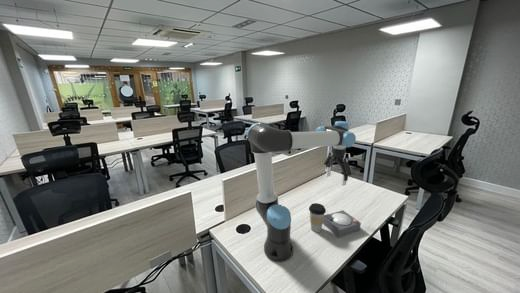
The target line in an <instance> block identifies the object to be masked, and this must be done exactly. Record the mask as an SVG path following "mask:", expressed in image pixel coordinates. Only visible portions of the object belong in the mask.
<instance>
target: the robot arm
mask: <svg viewBox="0 0 520 293" xmlns="http://www.w3.org/2000/svg"><path fill="white" fill-rule="evenodd" d="M349 124H350V123H349V122H348V121H345V120H344V121H342V120H339V121H338V120H337V121H335V122H334V124H333V125H327V126H325V125H324V126H318V127H317V128H316V129H315V131H313V130H312V131H291V130H290V129H285V130H284V129H278V128H275V127H272V126H270V125H268V124H266V123H263V122H256V123H252V125H250V127H249V128H248V130H247V132H246V134H247V135H246V137H247V140H248V142H249V143H250V152H251V153H252V154H254V160H255V168H256V177H257V178H256V179H257V187H258V189H257V190H258V194H257V195H256V200H255V204H254V206H255V209H256V211H257V213H258V214H259V215H260V218H261V219H262V221H263V222H264V224H265V225H266V228H267V236H266V239H265V241H264V245H263V252H264V254H265V256H266V257H267V258H268V259H269V260H272V261H274V262H285V261H288V260H290V258H292V256H293V253H294V245H293V242H292V239H291V228H292V227H291V222H292V215H291V211H290V209H289V208H288V207H286V206H284V205H282V204H279V195H278V194H277V192H275V181H274V180H275V178H274V170H273V169H274V168H273V155H272V153H283V152H291V150H293V149H308V148H321V147H332V148H331V152H329V153H328V155H327V157H326V160H325V162H324V165H325V167H326V168H325V169H326V175H325V176H326V177H327V178H328V177H331V172H332V165H333V164H334V163H337V164H338V165H339V166H340V168H341V171H342V174H343V175H342V178H341V186H347V182H348V179H349V177H350V176H352V171H351V167H350V163H349V161H350V160H349V158H348V157H345V155H346V153H347V152H346V151H347V149H346V148H351V147H352V146H354V144H355V143H356V139H357V138H356V135H355V133H354V132H351V131H350V130H349Z"/></svg>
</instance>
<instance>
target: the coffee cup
mask: <svg viewBox="0 0 520 293" xmlns="http://www.w3.org/2000/svg"><path fill="white" fill-rule="evenodd" d="M308 210H309V212H310V213H309V219H310V221H309V222H310V230H311V231H312V232H315V233H320V232H321V231H322V227H323V225H324V224H323V220H324V216H325V215H326V213H327V212H326V211H327V210H326V208H325V205H323V204H321V203H318V202H317V203H311V204H310V206H309V207H308Z"/></svg>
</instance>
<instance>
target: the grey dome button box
mask: <svg viewBox="0 0 520 293" xmlns="http://www.w3.org/2000/svg"><path fill="white" fill-rule="evenodd" d="M361 224H362V223H361V222H360V221H359V220H358V219H356V218H355V217H354V216H352V215H351V214H349V213H348V212H346V211H345V210H344V209H342V210H340V211H336V212H333V213H332V212H331V213H327V214H324V220H323V224H322V225H323V226H325V227H326V228H327V229H328V230H329V231H330V232H332V234H334V235H335V236H336V237H337V238H341V237H345V236H347V235H350V234H353V233H356V232H359V231H361Z"/></svg>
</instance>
